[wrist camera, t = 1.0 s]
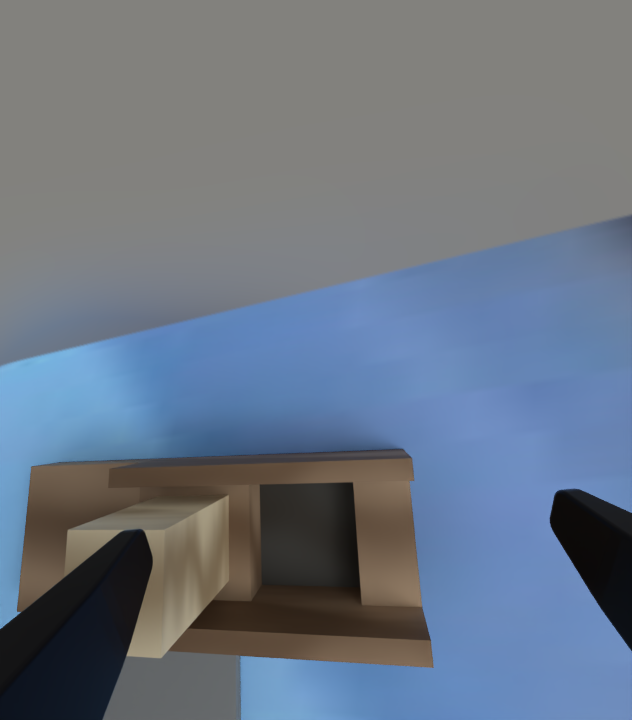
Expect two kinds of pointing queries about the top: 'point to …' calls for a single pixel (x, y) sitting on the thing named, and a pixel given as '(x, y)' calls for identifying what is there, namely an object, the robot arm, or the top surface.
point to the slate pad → (177, 688)
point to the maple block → (167, 561)
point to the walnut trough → (267, 548)
